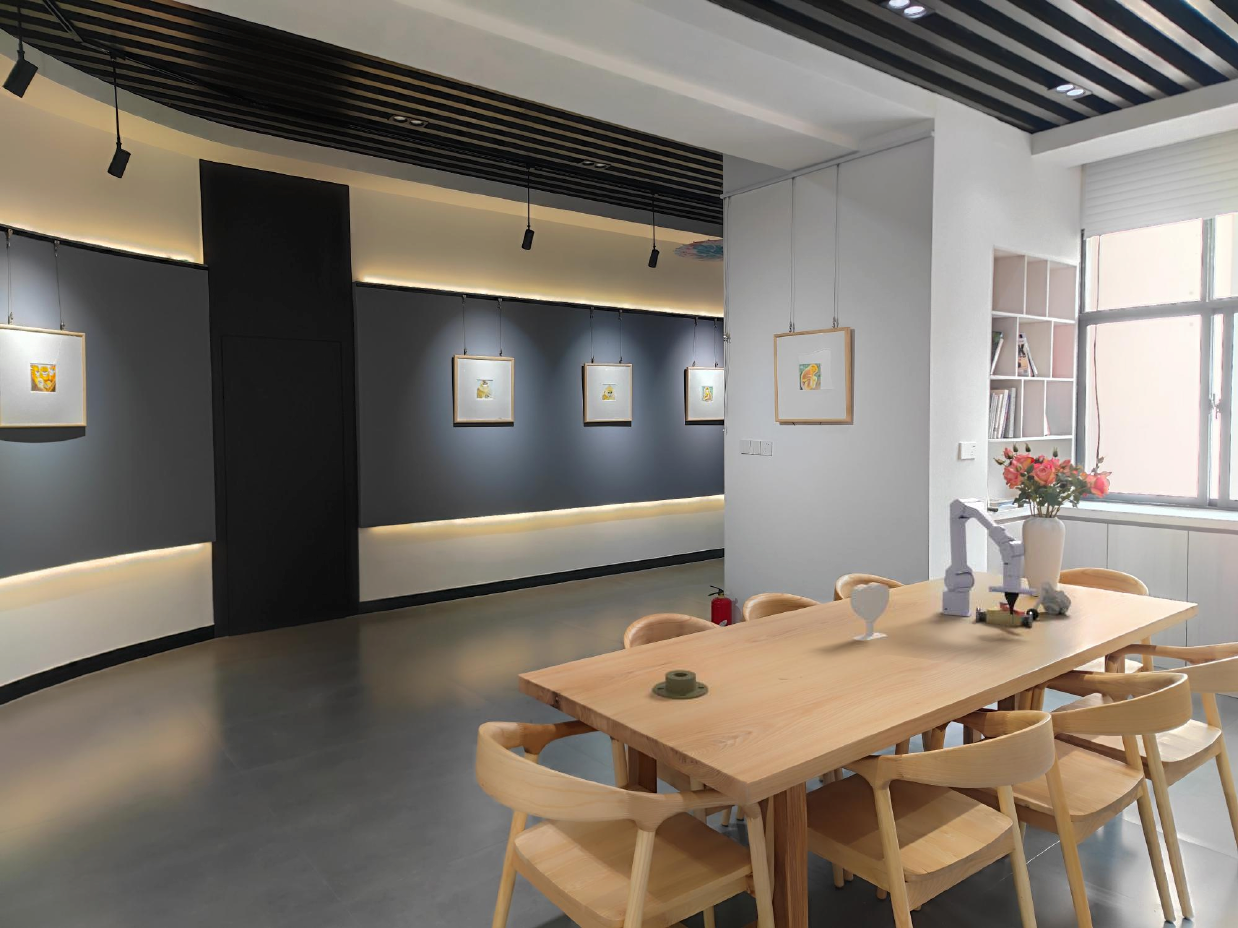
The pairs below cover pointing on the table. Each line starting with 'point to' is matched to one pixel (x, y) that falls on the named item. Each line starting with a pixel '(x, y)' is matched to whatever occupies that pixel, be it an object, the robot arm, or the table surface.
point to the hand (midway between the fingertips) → (1011, 614)
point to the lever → (1015, 610)
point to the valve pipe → (1003, 617)
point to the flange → (680, 685)
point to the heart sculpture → (869, 606)
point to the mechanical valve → (1050, 601)
